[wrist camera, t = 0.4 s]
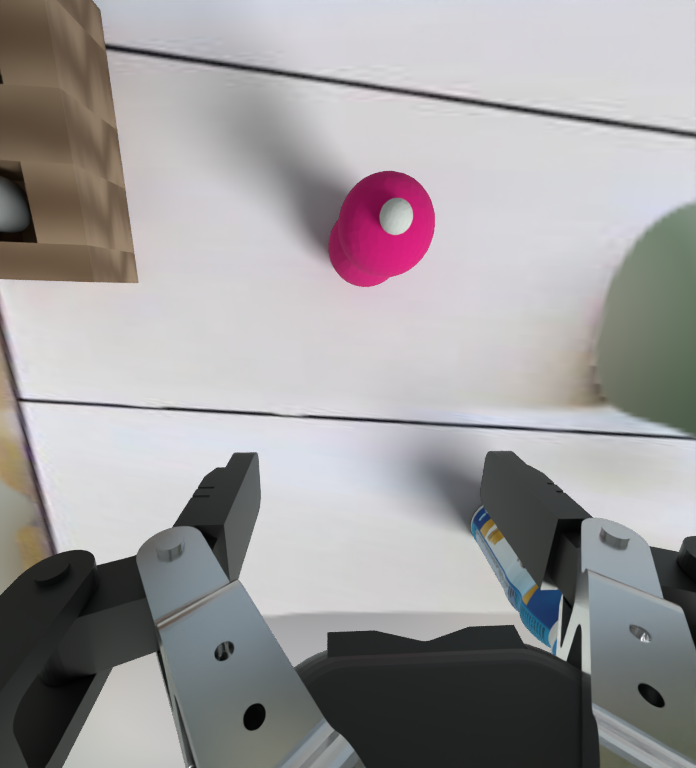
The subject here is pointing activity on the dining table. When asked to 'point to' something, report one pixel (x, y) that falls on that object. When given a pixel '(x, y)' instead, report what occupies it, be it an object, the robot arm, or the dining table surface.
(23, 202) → the terracotta plunger
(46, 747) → the robot arm
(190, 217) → the dining table surface
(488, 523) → the beverage bottle
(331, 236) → the pepper mill
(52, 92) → the button panel
